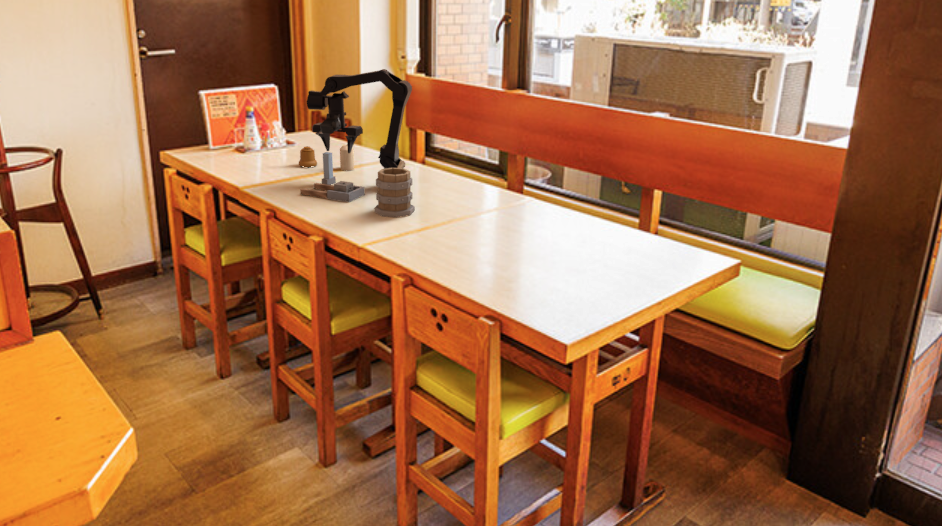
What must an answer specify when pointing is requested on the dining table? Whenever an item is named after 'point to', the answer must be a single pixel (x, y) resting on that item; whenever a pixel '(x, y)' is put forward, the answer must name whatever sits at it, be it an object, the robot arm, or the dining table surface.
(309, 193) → the slot rails
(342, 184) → the dice cube
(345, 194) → the box
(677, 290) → the dining table surface
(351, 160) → the candle
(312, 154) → the ornamental finial
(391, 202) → the tankard
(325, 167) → the grey notched beam
